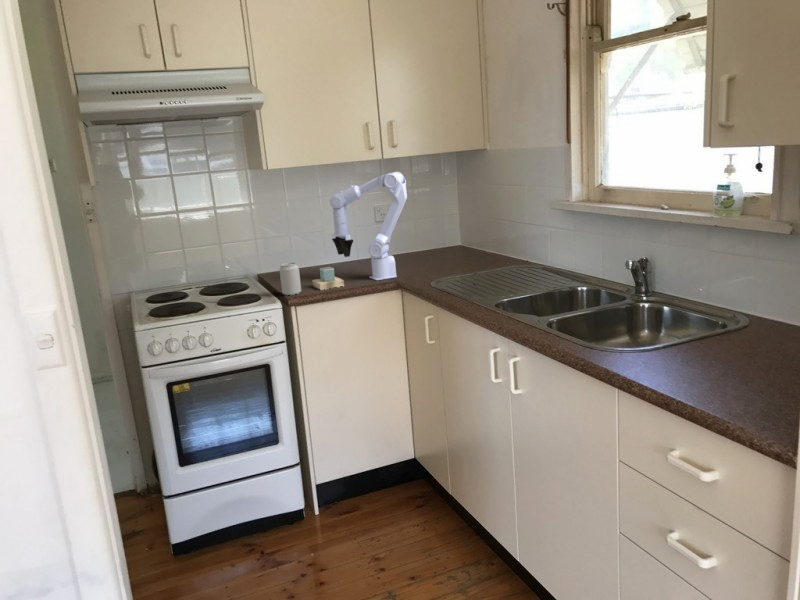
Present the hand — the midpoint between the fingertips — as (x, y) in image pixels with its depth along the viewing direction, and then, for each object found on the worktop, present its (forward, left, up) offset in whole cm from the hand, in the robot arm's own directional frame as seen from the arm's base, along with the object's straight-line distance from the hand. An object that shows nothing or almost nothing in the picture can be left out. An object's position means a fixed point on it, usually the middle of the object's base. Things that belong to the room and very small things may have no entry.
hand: (344, 255), depth 277 cm
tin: (+11, +9, -8) cm, 16 cm away
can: (+27, +12, -10) cm, 31 cm away
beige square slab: (+11, +9, -10) cm, 18 cm away
